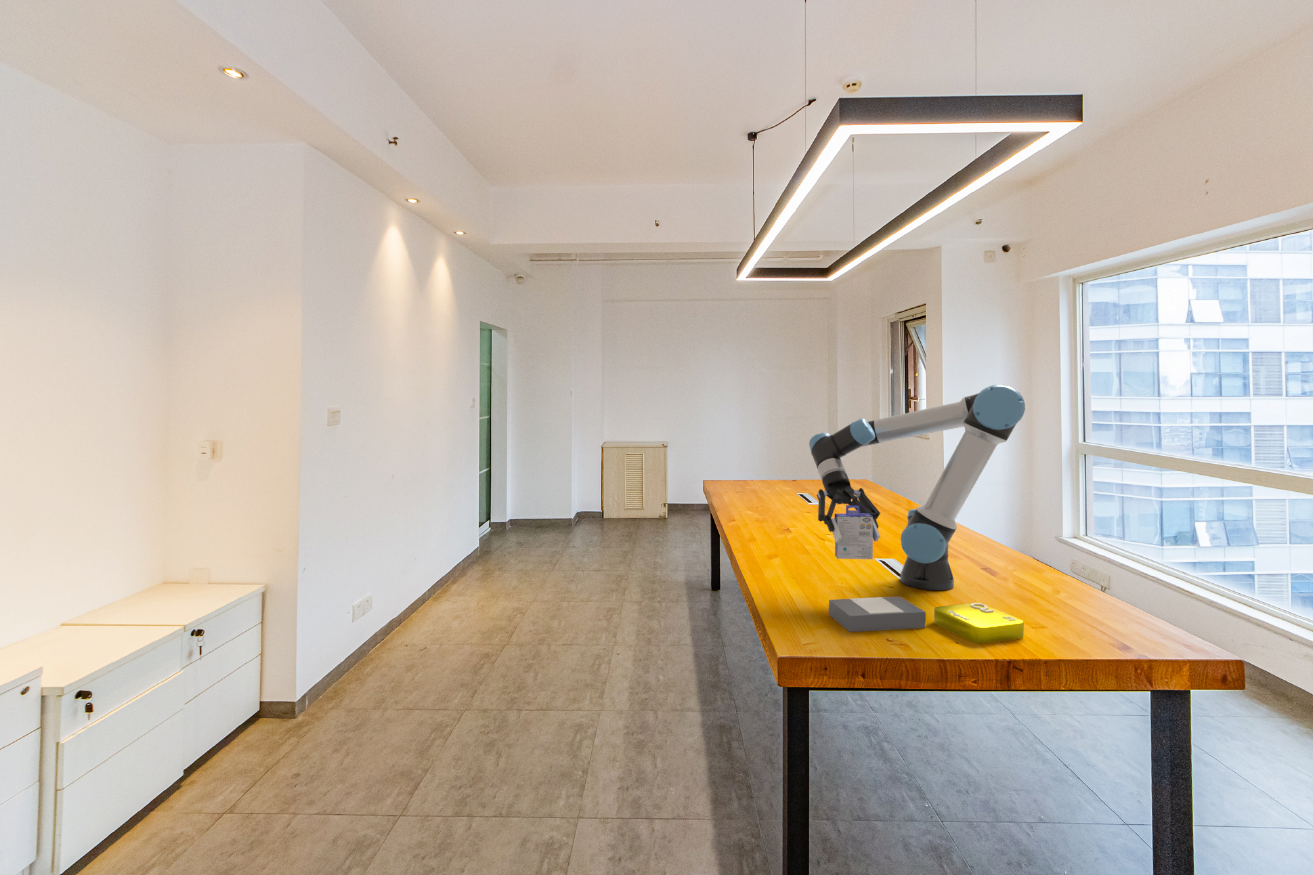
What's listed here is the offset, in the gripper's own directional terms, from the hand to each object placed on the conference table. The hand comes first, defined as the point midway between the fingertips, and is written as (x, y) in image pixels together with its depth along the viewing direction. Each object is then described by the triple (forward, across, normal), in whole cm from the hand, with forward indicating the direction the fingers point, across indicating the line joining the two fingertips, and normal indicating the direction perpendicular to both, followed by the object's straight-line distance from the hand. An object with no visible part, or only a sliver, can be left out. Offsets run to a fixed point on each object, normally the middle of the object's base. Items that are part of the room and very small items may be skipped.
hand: (858, 539), depth 161 cm
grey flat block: (+21, +1, -5) cm, 22 cm away
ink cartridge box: (+2, 0, -6) cm, 7 cm away
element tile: (+28, -21, +1) cm, 35 cm away
